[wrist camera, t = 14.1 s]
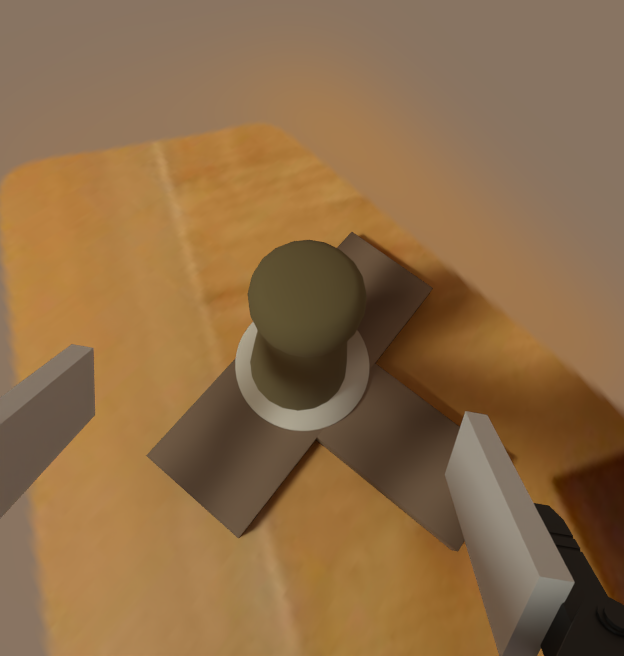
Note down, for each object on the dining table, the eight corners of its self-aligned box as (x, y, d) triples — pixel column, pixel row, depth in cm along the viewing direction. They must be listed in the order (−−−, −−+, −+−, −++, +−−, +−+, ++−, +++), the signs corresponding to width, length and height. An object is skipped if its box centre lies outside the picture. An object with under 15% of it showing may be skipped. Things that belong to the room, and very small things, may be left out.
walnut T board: (551, 381, 31) (563, 375, 30) (382, 665, 25) (388, 673, 23) (342, 234, 34) (344, 223, 33) (142, 450, 28) (136, 447, 27)
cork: (309, 301, 31) (325, 195, 21) (366, 374, 29) (413, 297, 19) (231, 351, 29) (206, 261, 19) (286, 430, 27) (291, 379, 17)
